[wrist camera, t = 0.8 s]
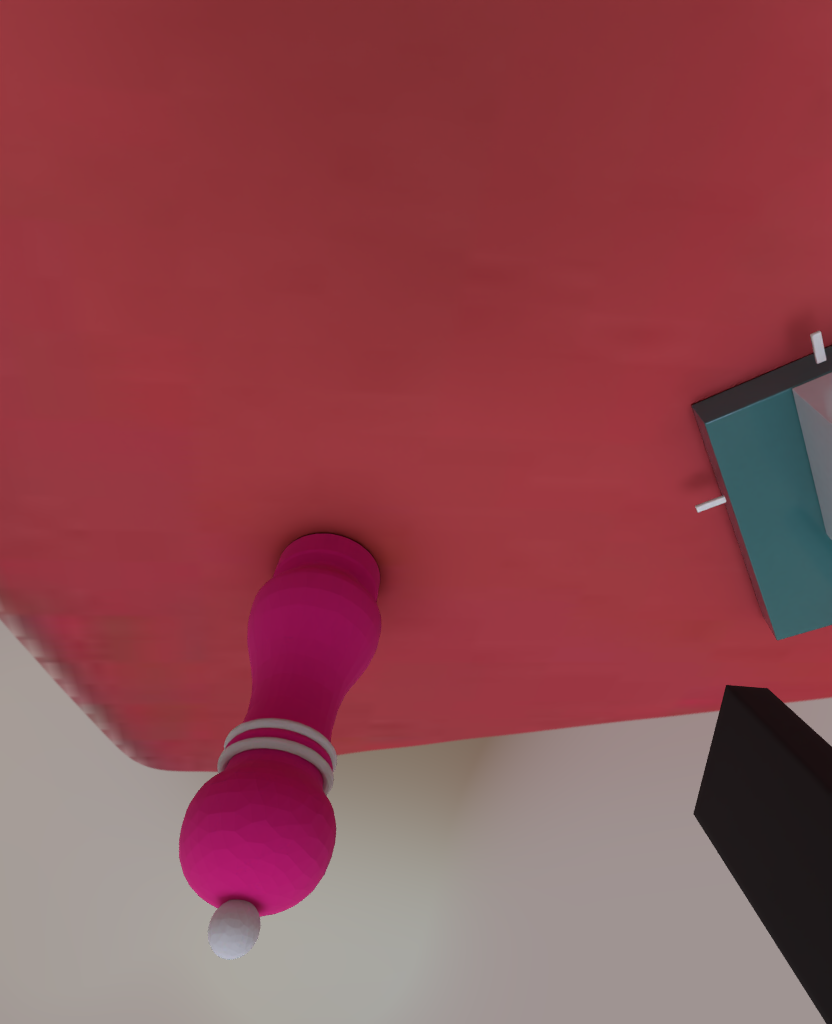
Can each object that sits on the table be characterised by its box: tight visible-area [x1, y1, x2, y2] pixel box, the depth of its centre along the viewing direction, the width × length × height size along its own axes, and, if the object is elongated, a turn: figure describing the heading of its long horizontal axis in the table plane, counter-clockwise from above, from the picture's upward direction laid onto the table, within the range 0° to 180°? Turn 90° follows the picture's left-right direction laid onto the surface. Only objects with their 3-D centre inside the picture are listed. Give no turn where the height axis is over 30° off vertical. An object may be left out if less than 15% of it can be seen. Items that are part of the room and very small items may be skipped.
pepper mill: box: [179, 534, 381, 960], centre depth 29 cm, size 7×7×20 cm
